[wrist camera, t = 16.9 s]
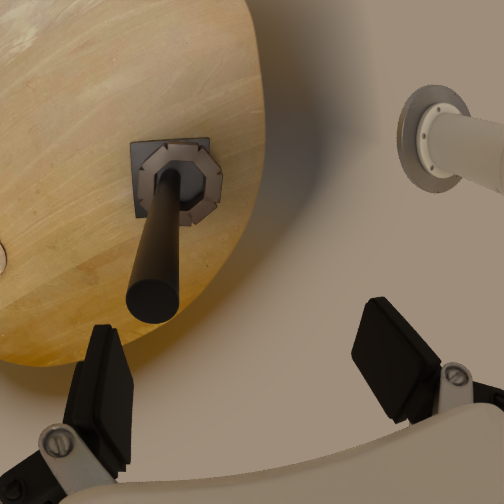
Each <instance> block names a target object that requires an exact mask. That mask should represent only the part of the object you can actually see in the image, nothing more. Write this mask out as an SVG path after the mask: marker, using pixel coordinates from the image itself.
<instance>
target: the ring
mask: <svg viewBox="0 0 504 504" xmlns="http://www.w3.org/2000/svg"><path fill="white" fill-rule="evenodd" d="M170 161H187V162H193V163H194V164H195V165H196V167H197V168H198V169H199V170H200V171H201V172H202V173H203V175H204V179H203V189H202V192H201V193H199V194H198V195H197V196H196V197H195V198H193V199H192V200H191V201H190V202H189V203H180V217H179V226H191V223H192V222H193V223H194V224H195V225H196V224H197V223H199V222H200V221H201V220H202V219H203V218H205V217H206V216H207V215H208V214H210V213H211V212H212V211H213V210H214V209H216V208H217V204H216V203H220V197H221V189H222V180H223V174H222V172H221V170H222V169H221V168H220V166H219V165H218V163H217V162H216V161H215V160H214V159H213V157H212V156H211V155H210V154H209V153H208V151H207V150H206V149H205V148H204V147H203V145H200V146H199V145H198V143H197V142H183V141H169V143H168V145H167V144H166V143H163V144H162V145H161V146H160V147H159V148H158V149H157V150H155V151H154V152H153V153H152V154H151V155H150V156H149V157H148V158H147V159H145V160H144V162H143V163H142V164H141V167H140V169H139V170H138V194H137V198H138V199H141V200H140V202H139V204H140V205H141V206H142V207H143V208H144V209H145V210H146V211H147V212H148V213H149V210H150V207H151V203H152V200H153V197H154V194H155V191H156V181H157V172H158V171H160V170H161V169H162V168H163V167H164V166H165V165H166V164H168V163H169V162H170Z"/></svg>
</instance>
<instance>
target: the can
mask: <svg viewBox="0 0 504 504" xmlns="http://www.w3.org/2000/svg"><path fill="white" fill-rule="evenodd" d="M5 265H6V256H5V252H4V249H3V247H2V245H1V244H0V274H1V273H2V271H3V270H4V268H5Z"/></svg>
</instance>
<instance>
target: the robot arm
mask: <svg viewBox="0 0 504 504" xmlns="http://www.w3.org/2000/svg"><path fill="white" fill-rule="evenodd" d="M416 145H417V152H418V156H419V159H420V161H421V164H422V165H423V167H424V168H425V170H426V171H427V172H428V173H430V174H431V175H433V176H435V177H438V178H448V177H451V176H453V175H454V174H456V175H458V176H461V177H463V178H466V179H468V180H470V181H473V182H475V183H478V184H480V185H482V186H484V187H487V188H489V189H491V190H493V191H495V192H498V193H500V194H502V195H504V125H503V124H499V123H495V122H491V121H487V120H482V119H478V118H473V117H468V116H463V115H462V114H461V113H460V111H459V110H458V109H457V108H456V107H454V106H453V105H451V104H447V103H436V104H433V105H432V106H430V107H429V108H428V109H427V110H426V111H425V112H424V114H423V115H422V117H421V119H420V122H419V125H418V128H417V135H416ZM351 355H352V359H353V361H354V362H355V364H356V366H357V367H358V369H359V370H360V372H361V374H362V375H363V377H364V379H365V380H366V382H367V383H368V385H369V387H370V388H371V390H372V392H373V393H374V395H375V396H376V398H377V400H378V401H379V403H380V405H381V406H382V408H383V409H384V411H385V413H386V414H387V416H388V417H389V418H390V419H393V421H394V423H395V424H397V423H399V422H402V421H405V420H406V419H407V418H408V420H409V421H410V423H409V427H407V428H404V429H402V430H399V431H397V432H395V433H392V434H390V435H387V436H384V437H382V438H379V439H377V440H374V441H371V442H368V443H365V444H363V445H359V446H357V447H353V448H350V449H347V450H345V451H341V452H338V453H335V454H331V455H328V456H324V457H321V458H317V459H313V460H309V461H305V462H301V463H297V464H292V465H288V466H283V467H279V468H274V469H268V470H263V471H257V472H252V473H245V474H239V475H231V476H224V477H214V478H205V479H193V480H178V481H155V482H127V483H118V482H117V481H116V480H115V479H116V478H118V472H126V464H130V462H131V427H132V406H133V389H134V384H133V378H132V376H131V373H130V369H129V366H128V364H127V360H126V357H125V355H124V351H123V348H122V345H121V342H120V338H119V335H118V332H117V329H116V328H112V327H111V325H110V324H106V325H95V326H94V328H93V331H92V335H91V338H90V342H89V345H88V349H87V353H86V357H85V360H84V361H79V362H78V363H77V365H76V368H75V371H74V375H73V379H72V383H71V387H70V392H69V395H68V400H67V404H66V409H65V413H64V418H63V423H58V424H52V425H50V426H48V427H47V428H46V429H44V430H43V431H42V433H41V434H40V437H39V441H38V447H39V450H38V451H36V452H35V453H34V454H32V455H31V456H29V457H28V458H26V459H25V460H23V461H22V462H20V463H19V464H17V465H16V466H15V467H13V468H12V469H10V470H9V471H7V472H6V473H4V474H3V475H2V476H1V477H0V504H504V390H501V389H499V388H495V387H492V386H488V385H485V384H481V383H478V382H474V381H472V376H471V373H470V371H469V370H468V369H467V368H466V367H465V366H463V365H461V364H459V363H454V362H451V363H447V364H445V365H444V366H443V367H441V366H440V363H441V360H440V358H439V357H438V356H437V355H436V354H435V353H434V351H433V350H432V349H431V348H430V347H429V346H428V344H427V343H426V342H425V341H424V340H423V339H422V338H421V337H420V335H419V334H418V333H417V332H416V331H415V330H414V329H413V327H412V326H411V325H410V324H409V323H408V322H407V321H406V320H405V319H404V318H403V316H402V315H401V314H400V313H399V312H398V311H397V310H396V309H395V308H394V307H393V306H392V304H391V303H390V302H389V301H388V300H387V299H386V298H385V297H376V298H371V299H370V300H369V301H368V303H366V304H365V308H364V311H363V314H362V318H361V322H360V325H359V328H358V332H357V335H356V339H355V342H354V345H353V348H352V352H351Z"/></svg>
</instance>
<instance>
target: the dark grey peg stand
mask: <svg viewBox="0 0 504 504" xmlns="http://www.w3.org/2000/svg"><path fill="white" fill-rule="evenodd" d="M169 141H183V142H197V143H198V145H199V146H200V145H203V147H204V148H205V149H206V150H207V151H208V153H209V138H208V137H206V138H182V139H165V140H151V141H139V142H132V143H130V153H131V170H132V183H133V195H134V206H135V215H136V218H146V217H147V219H146V223H145V226H144V229H143V233H142V236H141V240H140V243H139V247H138V250H137V254H136V258H135V261H134V265H133V269H132V273H131V277H130V281H129V285H128V289H127V293H126V305H127V307H128V310H129V311H130V313H131V314H132V315H133V316H134V317H135V318H137V319H138V320H140V321H142V322H145V323H150V324H159V323H163V322H166V321H168V320H170V319H171V318H172V317H173V316H174V315H175V314H176V312H177V311H178V308H179V217H180V203H189V202H190V201H191V200H192V199H193V198H195V197H196V196H197V195H198V194H199V193H201V192H202V189H203V179H204V175H203V173H202V172H201V171H200V170H199V169H198V168H197V167H196V165H195V164H194V163H193V162H187V161H170V162H169V163H168V164H166V165H165V166H164V167H163V168H162V169H161V170H160V171H158V172H157V181H156V191H155V194H154V197H153V200H152V203H151V207H150V210H149V213H148V212H147V211H146V210H145V209H144V208H143V207H142V206H141V205H140V204H139V202H140V200H141V199H138V198H137V194H138V170H139V169H140V167H141V164H142V163H143V162H144V160H145V159H147V158H148V157H149V156H150V155H151V154H152V153H153V152H154V151H155V150H157V149H158V148H159V147H160V146H161V145H162V144H163V143H166V144H167V145H168V143H169Z"/></svg>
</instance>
